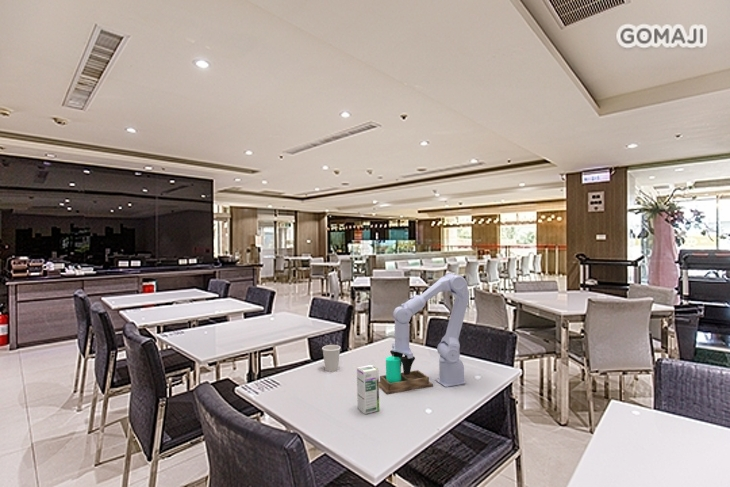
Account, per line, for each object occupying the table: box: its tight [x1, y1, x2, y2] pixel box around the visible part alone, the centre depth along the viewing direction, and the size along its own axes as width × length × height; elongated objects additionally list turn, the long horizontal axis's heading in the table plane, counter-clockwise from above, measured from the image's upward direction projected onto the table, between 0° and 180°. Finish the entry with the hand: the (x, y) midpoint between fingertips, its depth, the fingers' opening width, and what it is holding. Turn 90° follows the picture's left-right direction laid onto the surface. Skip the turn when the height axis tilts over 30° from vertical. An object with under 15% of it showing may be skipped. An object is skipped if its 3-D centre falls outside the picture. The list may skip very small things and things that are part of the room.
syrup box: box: [356, 364, 380, 415], centre depth 127 cm, size 6×6×14 cm
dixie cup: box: [321, 344, 341, 373], centre depth 167 cm, size 8×8×10 cm
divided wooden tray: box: [379, 369, 434, 395], centre depth 148 cm, size 20×10×4 cm, turn 111°
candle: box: [385, 355, 402, 383], centre depth 146 cm, size 6×6×12 cm
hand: (402, 371), depth 148 cm, fingers open, 7 cm apart
